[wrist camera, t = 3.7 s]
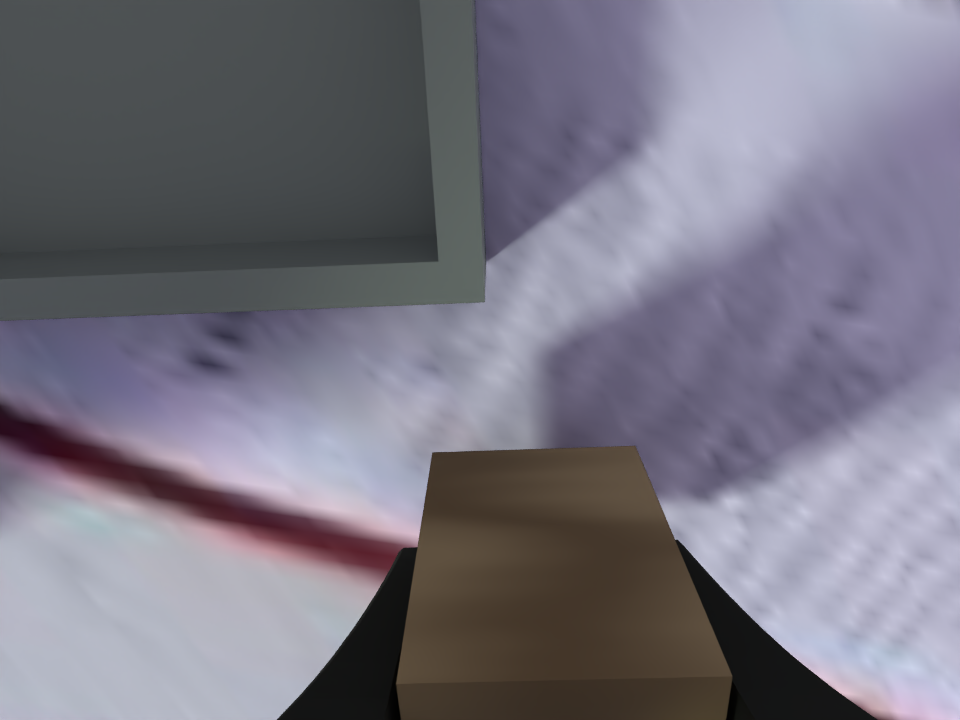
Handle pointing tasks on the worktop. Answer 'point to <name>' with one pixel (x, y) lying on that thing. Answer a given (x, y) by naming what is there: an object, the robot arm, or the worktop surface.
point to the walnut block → (553, 596)
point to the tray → (238, 156)
